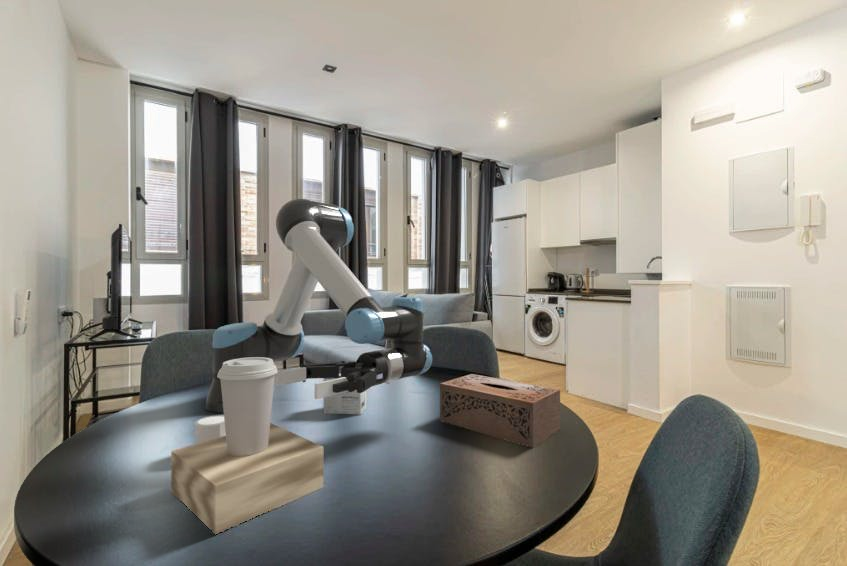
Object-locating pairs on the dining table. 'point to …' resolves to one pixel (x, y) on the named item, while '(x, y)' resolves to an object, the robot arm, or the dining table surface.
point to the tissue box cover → (501, 408)
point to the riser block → (245, 477)
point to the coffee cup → (247, 403)
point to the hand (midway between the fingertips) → (294, 384)
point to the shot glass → (209, 428)
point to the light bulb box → (345, 402)
